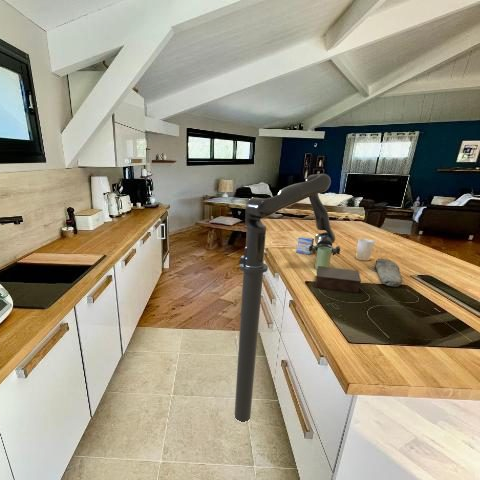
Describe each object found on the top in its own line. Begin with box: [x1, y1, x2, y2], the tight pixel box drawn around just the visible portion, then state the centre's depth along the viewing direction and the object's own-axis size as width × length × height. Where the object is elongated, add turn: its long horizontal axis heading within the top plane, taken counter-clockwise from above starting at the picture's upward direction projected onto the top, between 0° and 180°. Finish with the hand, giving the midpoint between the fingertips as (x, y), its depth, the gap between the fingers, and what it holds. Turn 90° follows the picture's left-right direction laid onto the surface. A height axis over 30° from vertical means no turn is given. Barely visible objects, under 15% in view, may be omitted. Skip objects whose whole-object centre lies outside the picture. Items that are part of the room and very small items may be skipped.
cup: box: [314, 247, 332, 270], centre depth 150 cm, size 6×6×10 cm
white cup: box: [355, 238, 376, 262], centre depth 165 cm, size 8×8×10 cm
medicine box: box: [295, 236, 315, 256], centre depth 177 cm, size 8×4×9 cm, turn 55°
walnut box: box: [314, 266, 362, 294], centre depth 131 cm, size 16×14×5 cm
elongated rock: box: [374, 257, 403, 288], centre depth 142 cm, size 35×5×10 cm
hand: (324, 252), depth 149 cm, fingers open, 8 cm apart
